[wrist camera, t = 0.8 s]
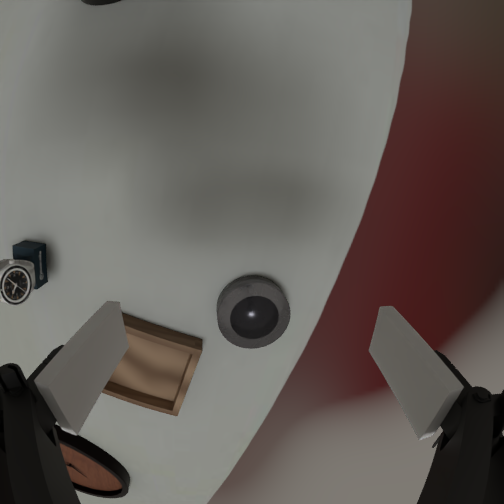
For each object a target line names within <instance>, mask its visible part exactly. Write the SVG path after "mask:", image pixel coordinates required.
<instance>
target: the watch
mask: <svg viewBox="0 0 504 504" xmlns="http://www.w3.org/2000/svg"><path fill="white" fill-rule="evenodd" d="M47 282H48V280H47V266H46V244H43V243H36V242H29V241H23V242H20V243H18V244H15V245H13V259H11V260H10V259H3V260H1V261H0V301H1V302H5V303H8V304H10V305H15V306H17V305H20V304H22V303H23V302H25V301H26V300H27V299H28V297H29V295H30V293H31V292H32V291H33V290H34V289H38V288H40V287H41V286H42V285H44V284H45V283H47Z"/></svg>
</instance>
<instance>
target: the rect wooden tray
mask: <svg viewBox="0 0 504 504" xmlns="http://www.w3.org/2000/svg"><path fill="white" fill-rule="evenodd" d="M122 317H123V322H124V327H125V331H126V336H127V340H128V344H129V348H128V349H127V351H126V352H125V354H124V356H123V357H122V359H121V361H120V362H119V364H118V365H117V367H116V369H115V370H114V372H113V374H112V375H111V377H110V379H109V380H108V382H107V384H106V385H105V387H104V389H103V391H102V393H105V394H107V395H110V396H113V397H116V398H118V399H121V400H124V401H127V402H130V403H133V404H136V405H139V406H142V407H145V408H149V409H152V410H156V411H159V412H163V413H166V414H170V415H174V416H178V413H179V411H180V408H181V405H182V403H183V400H184V397H185V395H186V392H187V389H188V387H189V384H190V381H191V379H192V376H193V374H194V371H195V368H196V366H197V363H198V360H199V358H200V355H201V353H202V339H199V338H196V337H192V336H189V335H186V334H183V333H179V332H176V331H173V330H170V329H167V328H164V327H161V326H158V325H155V324H152V323H149V322H146V321H143V320H141V319H138V318H135V317H132V316H130V315H127V314H124V313H122Z"/></svg>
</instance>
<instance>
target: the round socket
mask: <svg viewBox="0 0 504 504" xmlns="http://www.w3.org/2000/svg"><path fill="white" fill-rule="evenodd" d="M217 319H218V326H219V329H220V331H221V333H222V335H223V336H224V337H225V338H226V339H227V340H228V341H229V342H231V343H232V344H234V345H236V346H239V347H242V348H260V347H264V346H267V345H269V344H271V343H273V342H274V341H276V340H277V339H278V338H279V337H280V336H281V335H282V334H283V333H284V331H285V330H286V328H287V326H288V324H289V321H290V307H289V303H288V301H287V299H286V298H285V296H284V295H283V293H282V292H281V290H280V289H279V287H278V286H277V285H276V284H275V283H274V282H272V281H271V280H269V279H267V278H264V277H261V276H245V277H241V278H238V279H236V280H234V281H232V282H231V283H230V284H228V285H227V286H226V287H225V288H224V289H223V291H222V292H221V294H220V296H219V299H218V302H217Z"/></svg>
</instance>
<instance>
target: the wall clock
mask: <svg viewBox="0 0 504 504" xmlns="http://www.w3.org/2000/svg"><path fill="white" fill-rule="evenodd" d="M54 428H55V430H56V432H57V436H58V440H59V443H60V447H61V451H62V454H63V457H64V461H65V464H66V467H67V470H68V473H69V475H70V478H71V481H72V484H73V486H74V489H75V490H77V491H80V492H83V493H86V494H89V495H93V496H97V497H103V498H119V497H123V496H125V495H126V494H127V493H128V489H129V482H130V477H129V474H128V472H127V471H126V469H125V468H124V467H123V466H122V465H121V464H120V463H119V462H118V461H117V460H116V459H115V458H113V457H112V456H111V455H110V454H108V453H107V452H105V451H104V450H102V449H101V448H99V447H98V446H96V445H95V444H93V443H91V442H90V441H88V440H86V439H84V438H83V437H81V436H79V435H77V436H76V435H74V434H71V433H69V432H66V431H64V430H62V428H61V427H60V426H58V425H54Z"/></svg>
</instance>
